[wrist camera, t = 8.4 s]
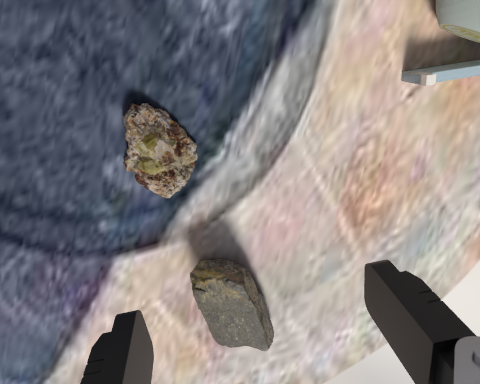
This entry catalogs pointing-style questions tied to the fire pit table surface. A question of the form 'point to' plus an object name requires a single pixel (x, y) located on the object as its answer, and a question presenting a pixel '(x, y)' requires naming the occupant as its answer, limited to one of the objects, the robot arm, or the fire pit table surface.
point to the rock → (231, 304)
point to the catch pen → (442, 73)
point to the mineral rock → (158, 150)
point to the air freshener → (460, 17)
